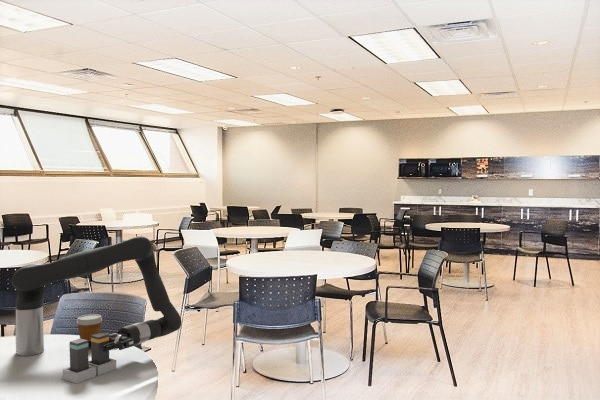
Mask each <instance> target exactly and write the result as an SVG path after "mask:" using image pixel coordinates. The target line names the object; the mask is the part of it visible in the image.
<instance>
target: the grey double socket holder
mask: <svg viewBox="0 0 600 400" xmlns="http://www.w3.org/2000/svg"><path fill="white" fill-rule="evenodd" d="M116 370H118V367H117V360H116V359H113V358H110V357H109V362H107V363H104V364H101V365H96V364H93V363H92V359H91V360H89V369H86V370H83V371H81V372H78V373H76V372H73V371H70V366H69V367H66V368H63V369H62V378H61V380H63V381H66V382H68V383H71V384H74V385H78V384H80V383H83V382H86V381H89V380H92V379H94V378H97V377H99V376H103V375H106V374H108V373H111V372H113V371H116Z"/></svg>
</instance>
